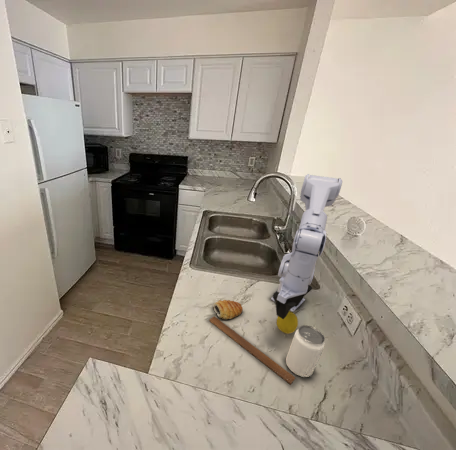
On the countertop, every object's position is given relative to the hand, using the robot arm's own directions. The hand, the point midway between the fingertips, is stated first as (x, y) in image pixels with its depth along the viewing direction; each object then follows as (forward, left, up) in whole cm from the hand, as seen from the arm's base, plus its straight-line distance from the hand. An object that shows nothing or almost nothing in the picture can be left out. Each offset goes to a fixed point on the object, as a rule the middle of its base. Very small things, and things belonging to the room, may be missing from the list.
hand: (287, 310), depth 73 cm
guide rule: (+12, -3, -9) cm, 16 cm away
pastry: (+6, -15, -9) cm, 19 cm away
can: (+7, +9, -9) cm, 14 cm away
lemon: (-1, +1, -9) cm, 9 cm away
